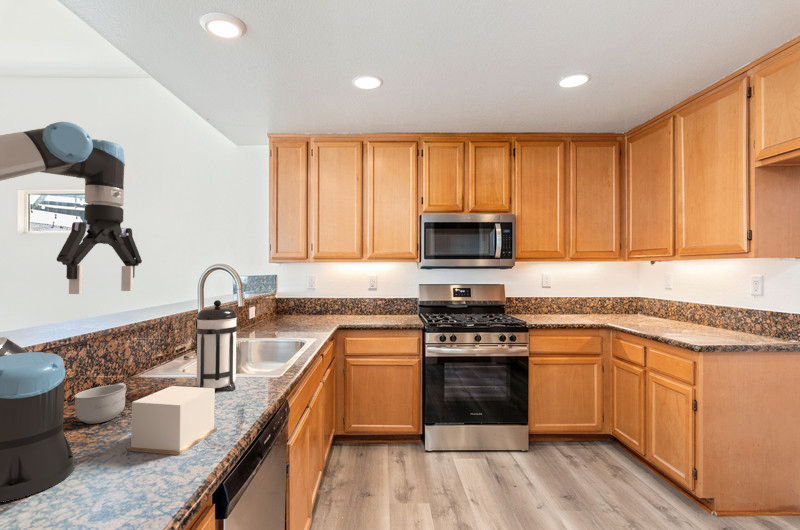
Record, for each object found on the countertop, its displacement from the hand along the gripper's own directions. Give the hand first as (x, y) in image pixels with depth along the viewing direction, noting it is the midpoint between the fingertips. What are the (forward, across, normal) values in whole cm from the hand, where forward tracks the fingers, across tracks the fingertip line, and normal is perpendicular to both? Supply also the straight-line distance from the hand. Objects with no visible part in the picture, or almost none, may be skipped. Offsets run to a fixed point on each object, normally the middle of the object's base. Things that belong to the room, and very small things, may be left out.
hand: (103, 292), depth 92 cm
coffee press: (+35, +37, -6) cm, 51 cm away
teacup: (+35, +10, +9) cm, 37 cm away
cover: (+34, 0, -20) cm, 39 cm away
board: (+35, 0, -20) cm, 40 cm away
